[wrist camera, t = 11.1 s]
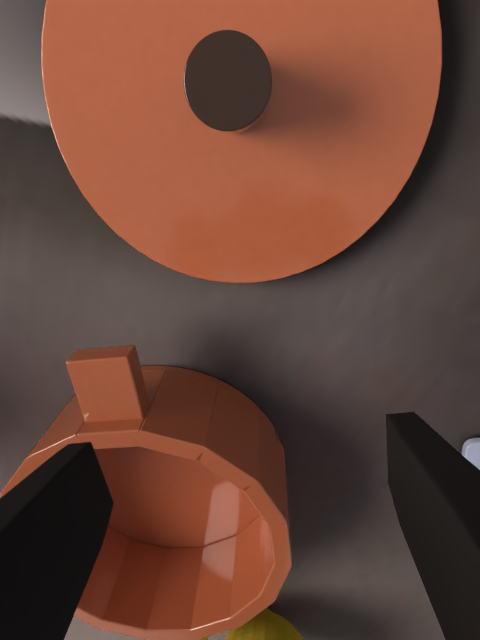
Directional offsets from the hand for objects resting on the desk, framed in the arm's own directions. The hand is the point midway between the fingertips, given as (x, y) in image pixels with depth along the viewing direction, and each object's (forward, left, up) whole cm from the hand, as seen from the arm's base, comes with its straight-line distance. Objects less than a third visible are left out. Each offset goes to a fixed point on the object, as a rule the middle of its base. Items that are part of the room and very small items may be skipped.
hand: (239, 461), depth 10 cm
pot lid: (0, -9, -9) cm, 12 cm away
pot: (+6, +8, -9) cm, 14 cm away
